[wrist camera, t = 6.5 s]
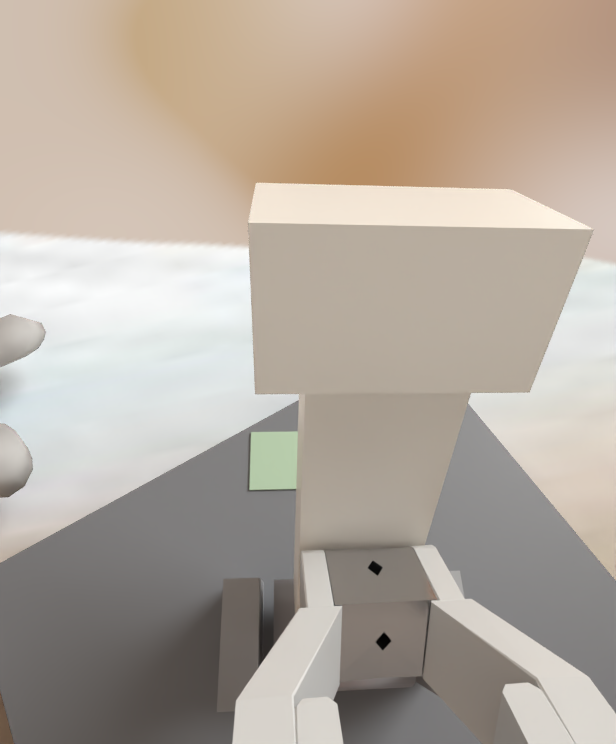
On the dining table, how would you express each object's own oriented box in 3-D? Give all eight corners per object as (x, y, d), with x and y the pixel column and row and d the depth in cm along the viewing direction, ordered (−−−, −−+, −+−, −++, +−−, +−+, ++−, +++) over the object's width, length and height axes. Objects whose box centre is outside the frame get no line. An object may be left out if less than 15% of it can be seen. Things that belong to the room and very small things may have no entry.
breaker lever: (412, 703, 13) (608, 237, 5) (267, 712, 13) (246, 229, 5) (391, 605, 16) (503, 186, 8) (269, 610, 15) (256, 179, 8)
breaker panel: (402, 358, 23) (440, 285, 18) (651, 667, 17) (820, 699, 12) (2, 580, 17) (-122, 573, 12) (172, 1163, 11) (76, 1665, 6)
